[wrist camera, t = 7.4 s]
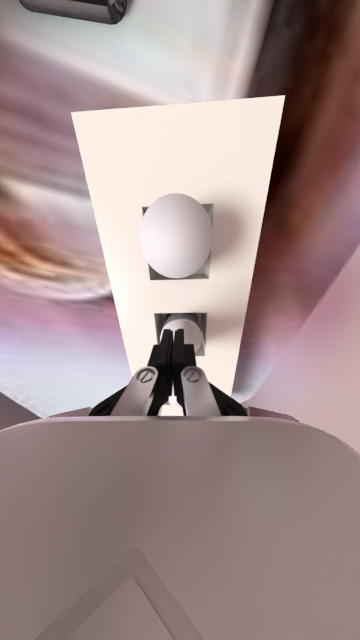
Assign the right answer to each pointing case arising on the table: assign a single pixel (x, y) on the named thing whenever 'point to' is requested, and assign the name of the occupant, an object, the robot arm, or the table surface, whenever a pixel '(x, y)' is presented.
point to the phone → (80, 9)
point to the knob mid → (185, 327)
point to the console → (197, 182)
